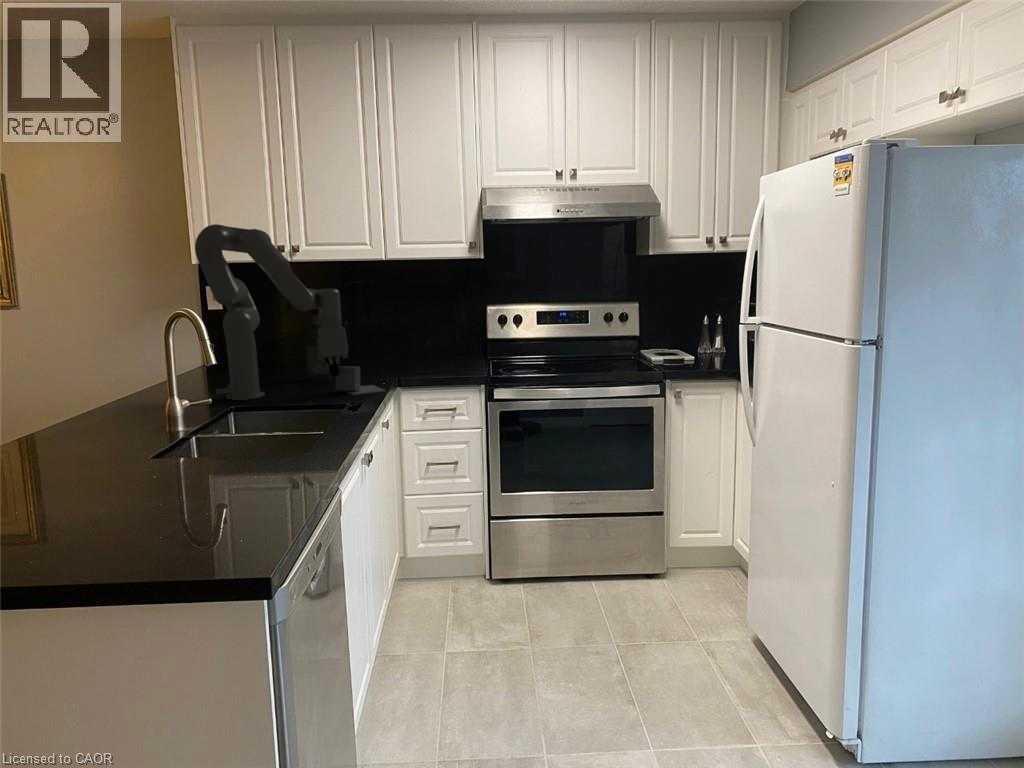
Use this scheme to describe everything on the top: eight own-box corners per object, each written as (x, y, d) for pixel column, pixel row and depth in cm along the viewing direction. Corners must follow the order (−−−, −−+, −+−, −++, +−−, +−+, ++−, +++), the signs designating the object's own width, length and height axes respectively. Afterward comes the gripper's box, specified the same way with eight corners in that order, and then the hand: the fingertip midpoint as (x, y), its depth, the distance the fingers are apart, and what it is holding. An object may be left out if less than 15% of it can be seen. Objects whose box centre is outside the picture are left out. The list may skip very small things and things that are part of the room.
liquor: (333, 380, 279) (328, 305, 274) (309, 382, 275) (304, 306, 270) (330, 377, 287) (325, 304, 282) (307, 379, 284) (302, 305, 279)
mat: (353, 395, 245) (352, 394, 245) (340, 389, 256) (340, 388, 256) (386, 391, 251) (386, 390, 251) (372, 386, 263) (372, 385, 263)
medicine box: (360, 390, 252) (360, 366, 251) (354, 391, 247) (354, 366, 247) (341, 389, 254) (341, 366, 253) (335, 390, 249) (335, 366, 249)
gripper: (312, 326, 237) (316, 378, 240) (354, 323, 245) (358, 374, 248) (306, 324, 243) (310, 376, 247) (348, 322, 251) (351, 372, 254)
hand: (334, 375), depth 247 cm, fingers closed
